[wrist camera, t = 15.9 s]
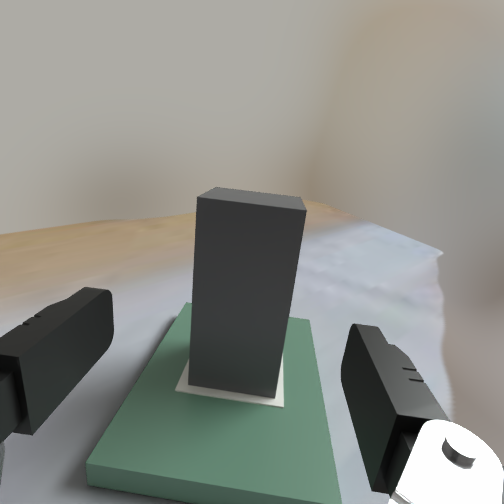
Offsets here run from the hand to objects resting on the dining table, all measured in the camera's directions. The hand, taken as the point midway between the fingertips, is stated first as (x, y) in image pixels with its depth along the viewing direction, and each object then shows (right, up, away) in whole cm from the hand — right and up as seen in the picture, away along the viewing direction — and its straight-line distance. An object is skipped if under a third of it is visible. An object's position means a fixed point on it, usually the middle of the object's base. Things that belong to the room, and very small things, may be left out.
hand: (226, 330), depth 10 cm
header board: (0, -7, +12) cm, 14 cm away
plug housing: (0, -5, +11) cm, 13 cm away
